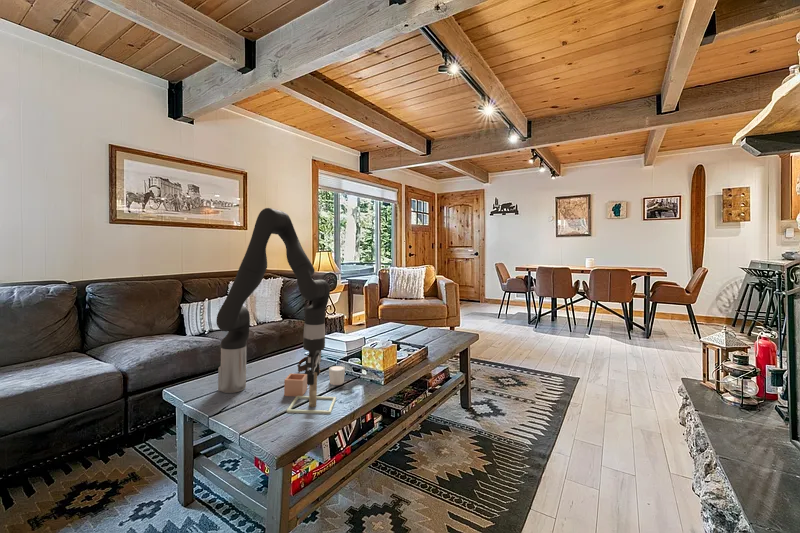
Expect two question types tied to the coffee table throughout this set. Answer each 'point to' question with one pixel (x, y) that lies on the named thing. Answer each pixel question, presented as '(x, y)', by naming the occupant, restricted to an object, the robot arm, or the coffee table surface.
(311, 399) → the birch pin
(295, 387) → the square clay pot
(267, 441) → the coffee table surface
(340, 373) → the beige cylinder
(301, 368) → the brown curved piece
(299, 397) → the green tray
